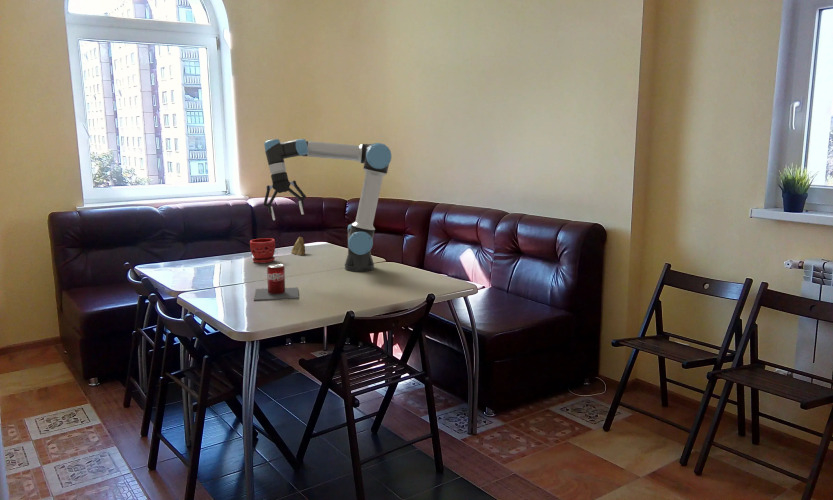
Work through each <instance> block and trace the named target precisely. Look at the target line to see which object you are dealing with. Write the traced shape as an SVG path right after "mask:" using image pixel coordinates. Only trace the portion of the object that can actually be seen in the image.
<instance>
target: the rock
mask: <svg viewBox="0 0 833 500" xmlns="http://www.w3.org/2000/svg"><path fill="white" fill-rule="evenodd" d="M305 246H306V245H305V242H304V238H303V237H301V236H298V237H297V240H296V241H295V243H294V245H293V247H292V248H291V252H290V253H291V254H293V255H296V256H297V255H299V256H305V255H306V247H305Z"/></svg>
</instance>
